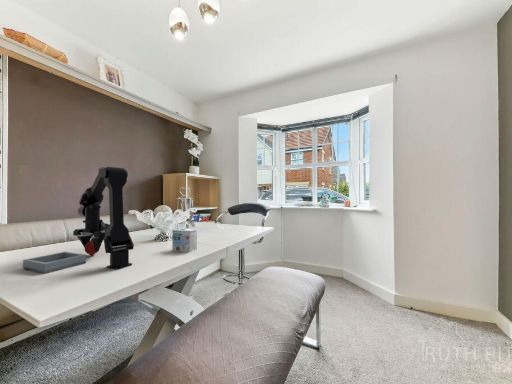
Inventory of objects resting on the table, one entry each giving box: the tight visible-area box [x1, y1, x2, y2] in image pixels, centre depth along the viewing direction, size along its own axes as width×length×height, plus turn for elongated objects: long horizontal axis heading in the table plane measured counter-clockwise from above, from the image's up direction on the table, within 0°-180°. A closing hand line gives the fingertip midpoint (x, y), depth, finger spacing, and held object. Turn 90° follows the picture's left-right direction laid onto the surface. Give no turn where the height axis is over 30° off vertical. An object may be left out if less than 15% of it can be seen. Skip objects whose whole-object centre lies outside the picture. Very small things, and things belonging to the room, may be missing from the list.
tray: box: [22, 251, 87, 275], centre depth 91 cm, size 14×14×4 cm
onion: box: [84, 239, 98, 256], centre depth 107 cm, size 6×6×8 cm
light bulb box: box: [171, 227, 198, 253], centre depth 119 cm, size 11×7×11 cm, turn 73°
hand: (92, 251), depth 107 cm, fingers open, 6 cm apart
